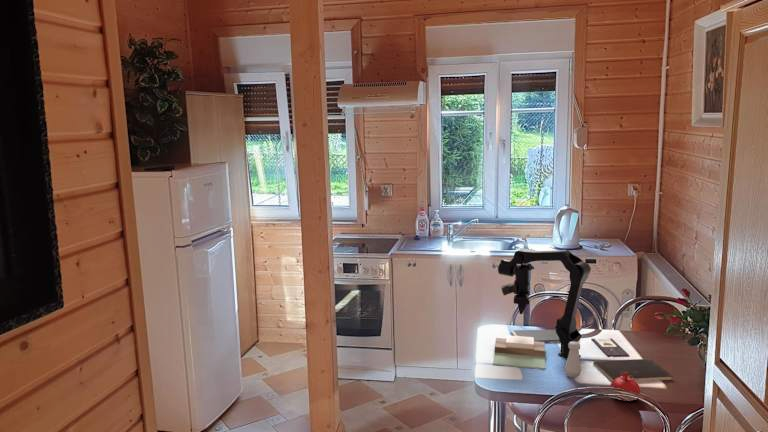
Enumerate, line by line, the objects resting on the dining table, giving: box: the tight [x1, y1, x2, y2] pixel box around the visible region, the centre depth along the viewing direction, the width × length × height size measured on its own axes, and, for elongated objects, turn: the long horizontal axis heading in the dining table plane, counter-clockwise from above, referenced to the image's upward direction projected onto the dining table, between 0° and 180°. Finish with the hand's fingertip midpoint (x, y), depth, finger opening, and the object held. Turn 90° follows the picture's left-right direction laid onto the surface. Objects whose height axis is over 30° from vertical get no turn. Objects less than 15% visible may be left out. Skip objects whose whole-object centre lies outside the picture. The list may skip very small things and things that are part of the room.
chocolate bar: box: [591, 338, 630, 358], centre depth 249 cm, size 9×1×18 cm
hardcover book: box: [592, 358, 673, 382], centre depth 225 cm, size 16×23×2 cm
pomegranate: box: [609, 372, 642, 394], centre depth 204 cm, size 10×10×9 cm
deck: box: [494, 337, 546, 358], centre depth 245 cm, size 10×20×3 cm, turn 77°
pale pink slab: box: [505, 334, 534, 349], centre depth 245 cm, size 11×8×2 cm
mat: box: [492, 352, 546, 370], centre depth 236 cm, size 12×20×1 cm, turn 77°
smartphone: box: [510, 329, 581, 344], centre depth 261 cm, size 13×27×2 cm, turn 93°
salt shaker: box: [564, 341, 582, 379], centre depth 222 cm, size 6×6×13 cm
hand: (520, 313), depth 253 cm, fingers closed
